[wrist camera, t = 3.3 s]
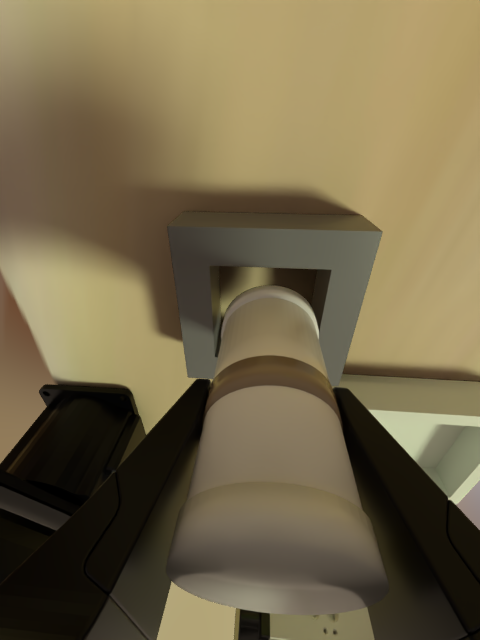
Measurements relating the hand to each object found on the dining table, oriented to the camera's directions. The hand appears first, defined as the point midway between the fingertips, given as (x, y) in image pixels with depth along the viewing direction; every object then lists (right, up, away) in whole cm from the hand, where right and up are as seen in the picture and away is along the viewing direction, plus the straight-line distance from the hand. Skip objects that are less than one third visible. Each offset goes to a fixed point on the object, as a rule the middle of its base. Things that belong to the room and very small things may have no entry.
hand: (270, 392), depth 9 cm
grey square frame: (0, +4, +6) cm, 7 cm away
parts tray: (+9, -5, +11) cm, 15 cm away
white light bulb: (0, +2, +3) cm, 4 cm away
